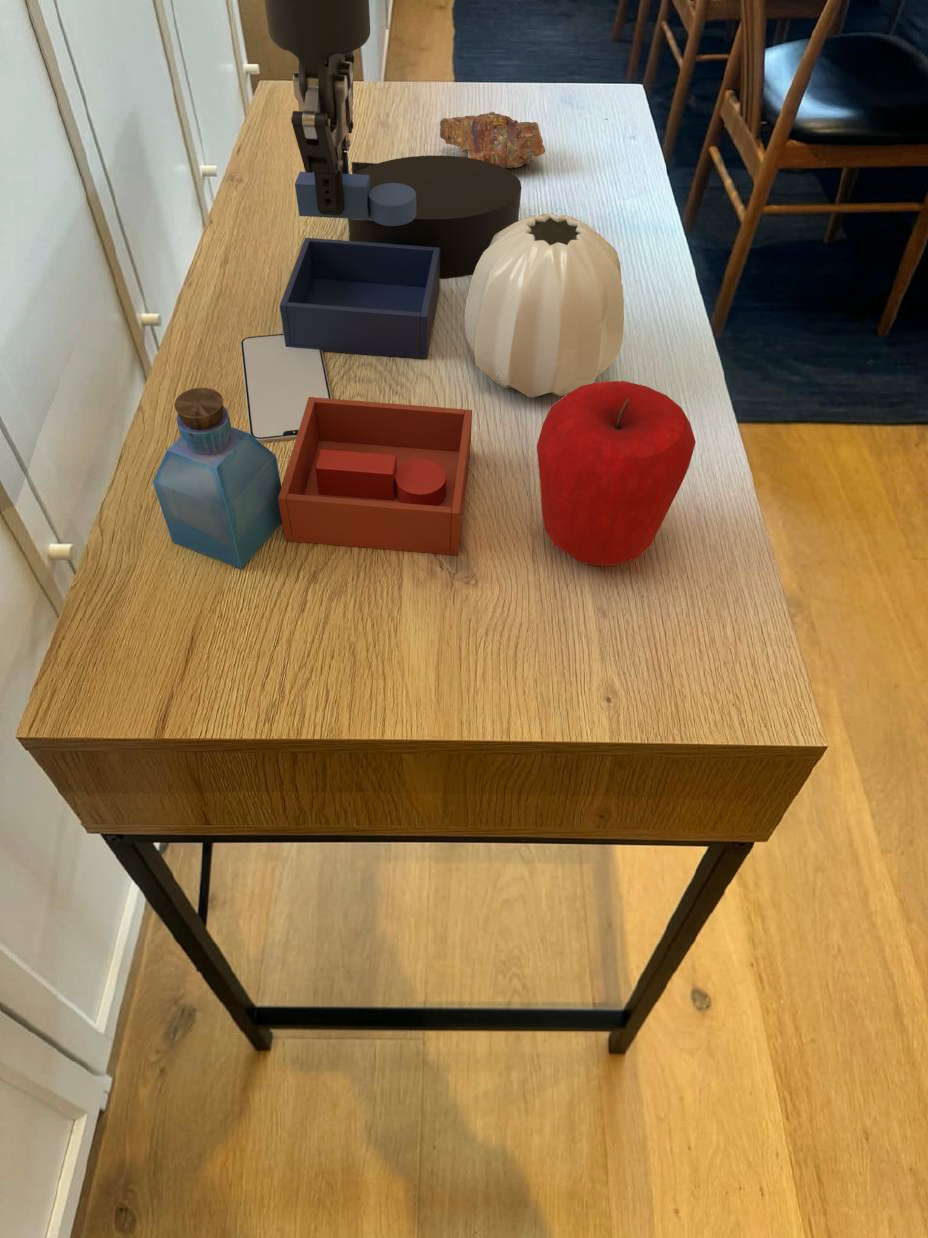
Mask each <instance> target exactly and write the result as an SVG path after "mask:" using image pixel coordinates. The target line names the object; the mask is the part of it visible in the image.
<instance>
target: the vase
mask: <svg viewBox="0 0 928 1238" xmlns="http://www.w3.org/2000/svg"><path fill="white" fill-rule="evenodd" d="M624 299H625V298H624V289H623V283H622V267H621V262H620V259H619V255H618V252H617V250H616V249H615V247H613V246H612V245H611V243H609V241H607V239H605V238H604V237H603V236H602V235H601V234H600V233H598V232H597V231H596V230H595V229H593V228H592V227H591V226H590V225H588V224H587V223H585V222H582V221H580V220H579V219H577V218H575V217H573V216H570V215H567V214H565V215H564V214H563V215H557V214H555V213H552V212H551V213H549V212H547V213H543V214H539V215H530V216H527V217H526V218H521V219H520V220H518V222H516V223H513V224H512V225H510V226H508V227H506V228H505V229H503V230H501V231H500V232H498V233H496V234H495V235H494V237H493V239H492V241H491V243H490V245H489V247H488V248H487V249H486V250H485V251H484V252H483V254H482V255H481V257H480V259H479V261H478V263H477V265H476V268H475V271H474V274H472V277H471V279H470V285H469V289H468V293H467V296H466V302H465V303H466V304H465V307H464V308H465V309H464V327H463V328H464V333H465V334H464V335H465V340H466V342H467V343H468V345H469V347H470V348H471V350H472V352H473V353H474V361H475V362H474V363H475V365H476V366H477V367H478V368H479V369H480V370H481V371H482V372H483V373H484V374H485V375H486V376H488V377H489V378H490V379H491V380H492V381H493V382H494V383H496V385H498V386H499V387H501V388H507V389H508V388H513V389H515V390H517V391H518V392H520V393H522V394H523V395H524V396H526V397H529V398H535V397H539V396H542V395H546V394H549V393H550V394H554V395H555V396H558V397H564V396H565V395H567V394H569V393H570V392H572V391H574V390H575V389H577V388H579V387H580V386H584V385H589V384H593V383H595V381H596V379H597V378H598V377H599V376H600V375H601V374H602V373H604V372H605V371H606V370H607V369H608V368H609V367H610V366H612V365H613V364H614V363H615V362H616V360H617V358H618V356H619V353H620V351H621V347H622V344H623V343H622V341H623V339H624V338H623V337H624V323H625V300H624Z"/></svg>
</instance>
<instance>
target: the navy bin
mask: <svg viewBox="0 0 928 1238" xmlns="http://www.w3.org/2000/svg"><path fill="white" fill-rule="evenodd" d="M440 285H441V278H440V248H438V247H424V246H411V245H397V244H384V243H371V242H358V241H349V240H342V239H332V238H331V239H330V238H316V237H304V239H303V241H302V243H301V247H300V250H299V252H298V256H297V257H296V261H295V263H294V266H293V269H292V270H291V274H290V277H289V279H288V282H287V285H286V287H285V290H284V293H283V295H282V298H281V300H280V303H279V311H280V318H281V325H282V331H283V334H284V339H285V346H286V347H294V348H306V349H318V350H322V352H326V353H327V352H328V353H342V354H354V355H367V356H379V357H391V358H407V359H415V360H416V359H418V360H428V355H429V350H430V345H431V339H432V335H433V334H432V332H433V328H434V324H435V317H436V313H437V306H438V300H439V295H440V291H441V290H440V289H441V288H440Z"/></svg>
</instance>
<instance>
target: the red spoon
mask: <svg viewBox="0 0 928 1238" xmlns="http://www.w3.org/2000/svg"><path fill="white" fill-rule="evenodd" d="M315 470H316V477H317V485H318V493H319V494H325V495H338V496H350V497H362V498H374V499H386V500H394V497H395V492H396V498H397V500H398V501H399V502H400V503H406V504H418V505H430V506H438V505H440V504H441V503H442V502H443V500H444V499H445V496H446V473H445V471H444V469H443V468H442V467H441V466H440V465H439V464H437V463H436V462H433V461H430V460H425V459H415V460H411V461H408V462H406V463H404V464H402V465H401V466H400V467H399V468H398V469H397V458H396V455H385V454H373V453H360V452H348V451H336V450H323V449H321V450H320V452H319V456H318V460H317V463H316V467H315Z"/></svg>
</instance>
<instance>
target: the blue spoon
mask: <svg viewBox="0 0 928 1238" xmlns="http://www.w3.org/2000/svg"><path fill="white" fill-rule="evenodd" d="M342 175H343V191H344V204H345V208H344V211H343V213H342V214H341V215H327V214H321V213H320V212H319V211H318V207H317V197H316V187H315V177H314V172H312V173H307V172H305V171H299V172H298V175H297V177H296V180H295V182H294V188H295V195H296V202H297V209H298V210H297V211H298V216H299V217H311V218H330V219H331V218H333V219H347V220H348V219H366V220H368V219H369V215H370V216H371V218H372V220H373V221H375V222H376V223H378V224H381V225H386V226H400V225H404V224H407V223H409V222H411V221H412V220H414V219H415V217H416V193H415V191H414V189H413V188H411V187H410V186H407V185H405V184H400V183H386V184H381V185H378V186H376V187H374V188H373V189H371V186H370V175H362V174H352V173H349V174H342Z"/></svg>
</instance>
